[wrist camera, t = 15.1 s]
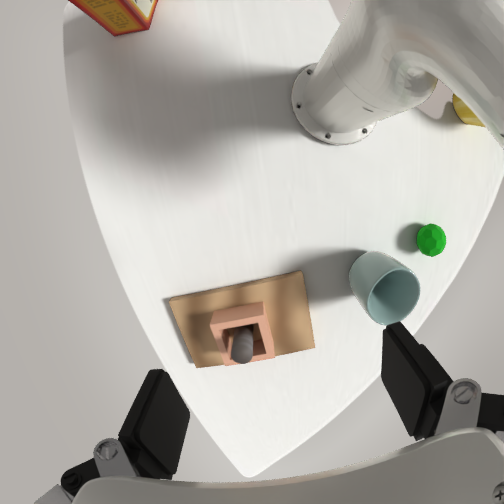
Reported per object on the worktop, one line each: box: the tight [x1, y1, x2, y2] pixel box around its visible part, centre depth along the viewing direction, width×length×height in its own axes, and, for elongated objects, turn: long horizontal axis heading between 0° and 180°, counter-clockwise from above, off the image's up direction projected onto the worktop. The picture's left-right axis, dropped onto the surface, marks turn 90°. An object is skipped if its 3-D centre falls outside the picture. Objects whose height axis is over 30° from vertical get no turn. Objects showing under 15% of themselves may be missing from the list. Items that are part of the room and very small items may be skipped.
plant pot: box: [453, 94, 485, 127], centre depth 26 cm, size 10×10×10 cm
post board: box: [169, 271, 315, 368], centre depth 37 cm, size 20×13×8 cm, turn 103°
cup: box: [349, 251, 420, 325], centre depth 34 cm, size 8×8×10 cm
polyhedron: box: [417, 224, 446, 257], centre depth 35 cm, size 5×5×5 cm
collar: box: [210, 301, 275, 366], centre depth 38 cm, size 7×7×4 cm
